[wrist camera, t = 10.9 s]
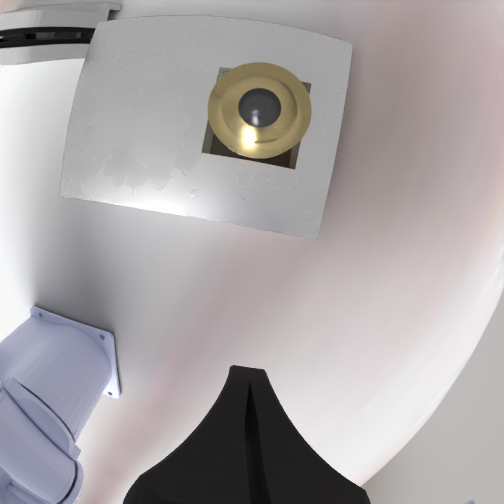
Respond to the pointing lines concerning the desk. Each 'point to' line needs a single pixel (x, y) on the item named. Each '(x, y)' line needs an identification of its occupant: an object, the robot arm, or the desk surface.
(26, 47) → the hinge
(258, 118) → the bushing
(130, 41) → the jig
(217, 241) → the desk surface
